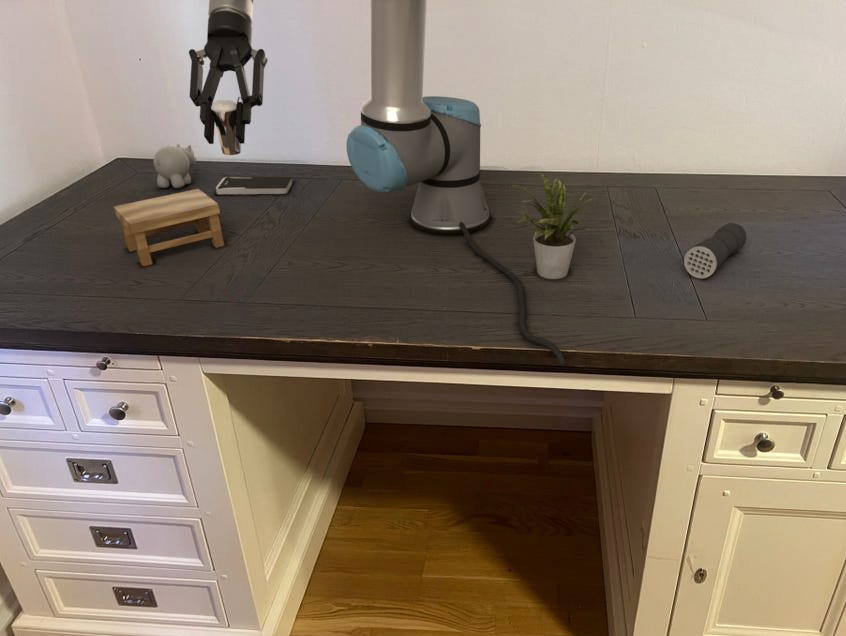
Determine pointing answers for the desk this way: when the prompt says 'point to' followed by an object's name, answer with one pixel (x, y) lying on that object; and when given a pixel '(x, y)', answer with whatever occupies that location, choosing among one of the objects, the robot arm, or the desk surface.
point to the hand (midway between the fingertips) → (224, 139)
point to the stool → (169, 221)
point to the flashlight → (714, 250)
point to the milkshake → (226, 125)
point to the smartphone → (254, 185)
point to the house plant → (553, 233)
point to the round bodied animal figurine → (174, 165)
